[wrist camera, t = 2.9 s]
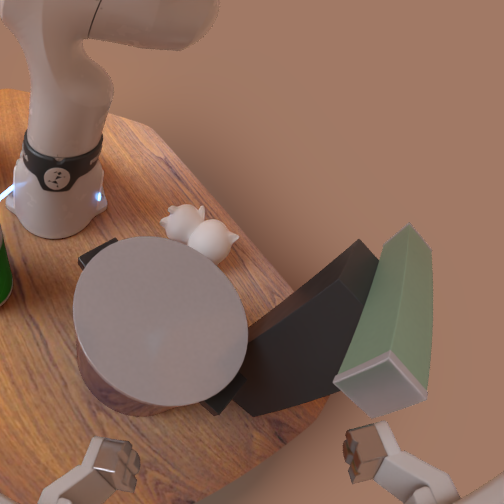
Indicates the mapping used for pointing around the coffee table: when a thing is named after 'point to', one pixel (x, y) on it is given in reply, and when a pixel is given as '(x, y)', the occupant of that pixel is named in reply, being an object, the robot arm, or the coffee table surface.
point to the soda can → (4, 273)
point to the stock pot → (157, 327)
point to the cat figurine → (199, 232)
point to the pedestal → (306, 336)
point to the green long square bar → (393, 331)
